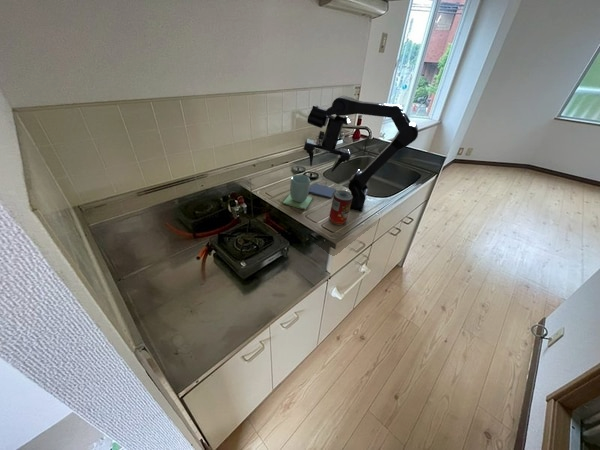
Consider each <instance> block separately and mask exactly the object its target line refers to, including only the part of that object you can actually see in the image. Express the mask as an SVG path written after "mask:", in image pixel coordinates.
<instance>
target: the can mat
mask: <svg viewBox="0 0 600 450" xmlns="http://www.w3.org/2000/svg"><path fill="white" fill-rule="evenodd" d="M335 192H336V188H334V187H329V186H326V185H322V184H318V183H313V184H312V185H311V187H309V193H308V194H311V195H316V196H319V197H323V198H327V199H332V198H333V196H334V193H335Z"/></svg>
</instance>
